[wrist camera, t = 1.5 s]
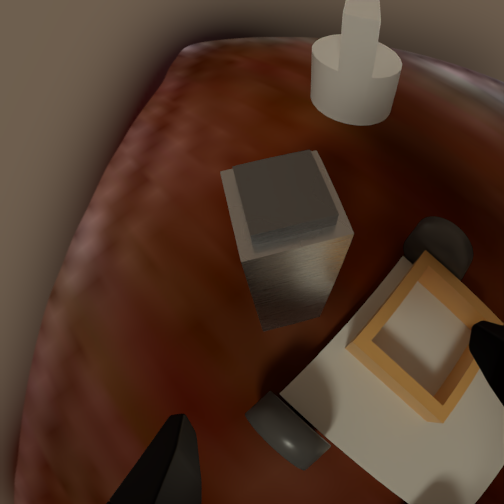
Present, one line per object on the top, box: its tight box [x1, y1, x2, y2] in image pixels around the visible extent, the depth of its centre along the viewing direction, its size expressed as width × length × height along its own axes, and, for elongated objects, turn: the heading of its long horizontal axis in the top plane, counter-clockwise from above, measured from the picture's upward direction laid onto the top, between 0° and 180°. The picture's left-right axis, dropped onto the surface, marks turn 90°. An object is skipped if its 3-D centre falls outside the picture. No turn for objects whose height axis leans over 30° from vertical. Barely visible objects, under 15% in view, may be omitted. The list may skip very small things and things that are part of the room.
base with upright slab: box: [311, 0, 402, 126], centre depth 25 cm, size 9×9×12 cm
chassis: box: [245, 217, 504, 504], centre depth 16 cm, size 19×17×5 cm
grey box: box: [220, 150, 354, 331], centre depth 17 cm, size 4×4×13 cm
